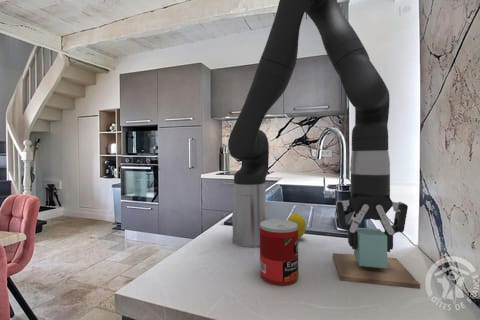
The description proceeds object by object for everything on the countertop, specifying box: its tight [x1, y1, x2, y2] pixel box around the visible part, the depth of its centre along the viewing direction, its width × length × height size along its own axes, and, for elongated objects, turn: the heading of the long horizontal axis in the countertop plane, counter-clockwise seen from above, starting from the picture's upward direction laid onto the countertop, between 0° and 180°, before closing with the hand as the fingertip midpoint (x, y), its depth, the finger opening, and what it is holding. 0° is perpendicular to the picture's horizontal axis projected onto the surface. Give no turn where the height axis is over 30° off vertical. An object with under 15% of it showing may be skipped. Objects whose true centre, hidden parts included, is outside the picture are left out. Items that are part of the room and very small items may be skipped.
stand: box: [332, 252, 421, 289], centre depth 53 cm, size 14×12×8 cm
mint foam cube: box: [353, 227, 388, 268], centre depth 53 cm, size 5×5×7 cm
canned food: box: [259, 218, 299, 286], centre depth 51 cm, size 8×8×11 cm
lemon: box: [287, 212, 307, 239], centre depth 74 cm, size 6×6×8 cm
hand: (370, 249), depth 53 cm, fingers open, 6 cm apart
